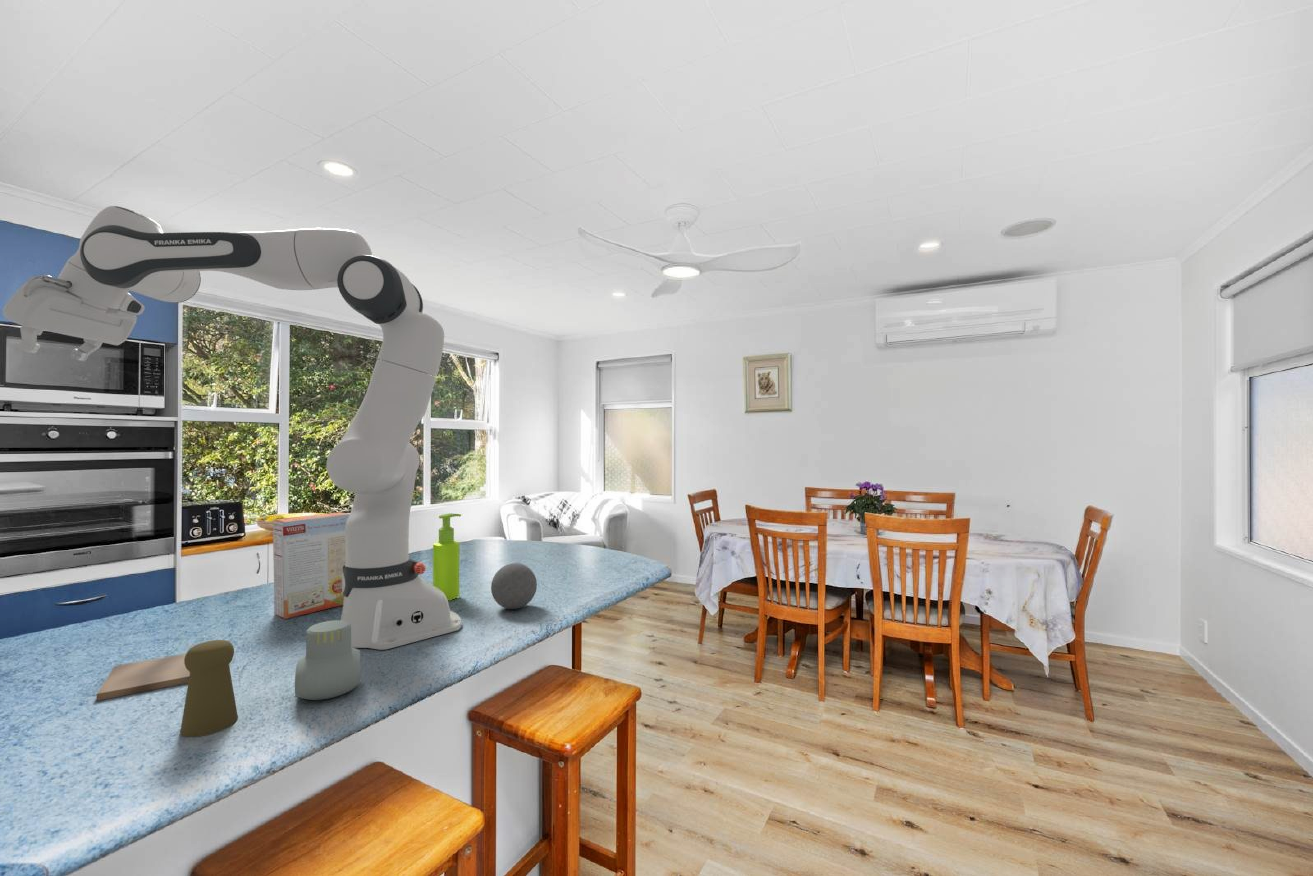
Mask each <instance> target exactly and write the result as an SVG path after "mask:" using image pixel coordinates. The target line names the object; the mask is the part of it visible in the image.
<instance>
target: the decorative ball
mask: <svg viewBox="0 0 1313 876" xmlns="http://www.w3.org/2000/svg"><path fill="white" fill-rule="evenodd" d="M537 582H538V581H537V577H536V575H535V573H534V572H533V571H532V569H531V568H530V567H528V566H526V565H525V564H522V563H516V562H515V563H509V564H506V565H504V566H502V567H501V568H500V569H498V570H497V572H496V573H495V574H494V576H493V578H492V579H491V587H490V591H491V595H492V598H493V599H494V601H495V602H496V603H497V604H498V605H499V606H501V607H502V608H504V609H507V610H518V609H521V608H524V607H525V606H526V605H528V604H529V603H530V602H531V601H532V599H534V596H535V595H536V593H537V587H538V586H537V585H538V583H537Z"/></svg>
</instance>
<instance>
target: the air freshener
mask: <svg viewBox="0 0 1313 876" xmlns="http://www.w3.org/2000/svg"><path fill="white" fill-rule="evenodd" d="M305 634H306V635H305V637H306V638H305V642H306V643H305V645H306V647H305V655H304V656H302V657H300V658H299V659H298V660H296V665H295V673H294V676H295V677H294V695H295V696H296V697H298V698H301V699H304V700H308V701H309V700H310V701H321V700H329V699H333V698H337V697H339V696H343V695H345V694H346V693H348V692H350V691H352V690H353V689H355V688H356V687H357V686H359V685H360V684H361V681H362V680H361V675H362V674H361V650H360V649H358V648H354V647H351V624H350V623H349V622H348V621H344V620H341V619H339V620H337V619H335V620H327V621H323V622H318V623H315V624H313V625H311V626H309V628H308V629H306V633H305Z"/></svg>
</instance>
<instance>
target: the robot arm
mask: <svg viewBox="0 0 1313 876" xmlns="http://www.w3.org/2000/svg"><path fill="white" fill-rule="evenodd" d="M204 271H205V272H208V271H209V272H210V271H211V272H222V273H228V274H232V275H236V276H240V277H243V278H245V279H246V278H247V279H249V280H252V281H254V282H258V283H261V284H263V285H266V286H269V287H271V288H275V289H279V290H289V291H312V290H322V289H329V288H333V289H334V288H337V289H338V291H339V293H340V295H341V297H342V298H343V299H344V301H345V302H346V304H347V305H348V306H350V307H351V309H352V310H354V311H356V312H357V313H358V314H360V315H362V316H363V317H365V318H366V319H367V320H369V321H371V322H372V323H374V324H376V325H379V327H380V328H381V330H382V343H381V345H380V349H379V353H378V354H377V355H378V356H377V359H376V362H375V364H374V368H373V371H372V374H371V378H370V381H369V383H368V386H367V390H366V392H365V395H364V397H363V400H362V402H361V403H360V406H359V408H358V410H357V411H356V413H355V415H354V416H353V418H352V420H351V422H350V424H349V426H348V427H347V429H346V431H345V433H344V435H343V436H342V438H341V439H340V441H339V442H338V443H337V444H336V445H335V446H334V447H333V448H332V449H331V451H330V452H329V454H328V456H327V458H326V459H327V460H326V466H325V467H326V472H327V476H328V477H329V479H330V481H331V482H332V483H333V484H334V485H335V486H336V487H338V489H341V490H343V491H345V492H349V493H352V494H354V499H353V504H352V508H351V511H350V512H349V514H350V515H349V517H348V519H347V521H346V525H345V564H344V565H343V572H342V592H343V595H344V601H343V605H342V609H341V610H342V611H341V616H340V620H344V621H348V622H349V623H350V624H351V647H352V648H356V649H358V648H360V649H361V648H362V649H367V648H368V649H373V650H379V651H380V650H381V651H382V650H389V649H392V648H398V647H402V646H405V645H408V644H412V643H416V642H420V641H423V640H427V639H431V638H433V637H438V636H442V635H445V634H448V633H454V632H456V631H457V632H458V631H459V630H460V629H461V628H462V626H463V624H462V619H461V617H460V615H459V614H458V613H456V612H454V611H453V610H451V609H450V604H449V601H448V600H447V598H446V596H445V594H444V593H443V592H442V591H441V590H439V589H438V588H436V587H435V586H433V583H430V582H428V581H427V580H425V579H423V578H422V577H420V575H423V574H424V573H425V572H426V571H427V570H426V569H427V567H426V565H425V564H424V563H422V562H419V561H416V560H415V559H412V558H409V554H410V553H409V550H410V544H409V537H410V535H409V534H410V533H409V529H410V517H411V515H410V513H411V509H412V503H413V497H414V490H415V484H416V476H417V472H418V469H419V466H420V454H419V452H418V450H417V448H416V447H415V446H414V445H413V444H412V443H411V442H410V441H411V438H412V436H413V434H414V432H415V431H416V428H417V427H418V425H419V423H420V422H421V420H422V419H423V418H424V416H425V415H426V412H427V409H428V405H429V403H430V399H431V397H432V394H433V390H434V387H435V383H436V381H437V377H438V373H439V371H440V367H441V363H442V356H443V351H444V345H445V344H444V342H445V330H444V329H443V326H442V325H441V324H440V322H439V321H437V320H436V319H435V318H434V317H432V316H430V315H428V314H427V313H423V311H424V301H423V298H422V295H421V294H420V293H421V292H420V291H419V290H418V288H417V287H416V286H415V285H414V284H413V283H412V282H411V281H410V279H409V278H408V276H406V275H405V274H404V273H403V272H402V271H401V270H400V269H398V268H396V267H395V266H394V265H392V264H391V263H390V262H389V261H387V260H385V259H383V258H381V257H378V256H374V255H373V252H372V250H371V246H370V245H369V244H368V242H367V240H366V239H365V238H364V237H363V236H362V235H361V234H359V233H358V232H357V231H354V230H349V229H342V228H329V227H328V228H325V227H323V228H321V227H315V228H313V227H312V228H311V227H309V228H296V229H285V230H271V231H239V232H237V231H236V232H235V231H234V232H233V231H232V232H227V231H225V232H224V231H200V232H199V231H196V232H195V231H194V232H193V231H192V232H191V231H190V232H164V231H163V228H162V226H161V225H160V224H159V223H158V222H157V221H155V219H152V218H150V217H148V216H146V215H144V214H142V213H138V212H136V211H134V210H131V209H129V208H126V207H122V206H117V205H115V206H114V205H110V206H109V205H108V206H106V207H105V208H103V209H102V210H101V211H100V212H99V213H98V214H97V215H96V216H95V217H94V218H93V220H92V221H91V222H90V223H89V225H88V226H87V228H86V230H85V231H84V232H83V234H82V235H81V237H80V240H79V245H78V249H77V250H76V252H75V253H74V254H73V255H71V256H70V257H69V258H68V259H67V261H66V263H65V264H64V266H63V267H62V269H61V271H60V273H59V275H58V276H57V278H56V277H53V276H52V275H49V274H40V275H36V276H34V277H33V276H32V277H30V278H28V280H27V281H26V282H24V283H23V284H22V285H21V286H20V287H19V288H18V289H17V290H16V291H15V293H14V294H13V295H12V296H11V297H10V299H9V300H8V301H7V303H6V304H5V306H4V307H3V309H2V314H3V317H4V318H5V319H6V320H9V321H10V322H13V323H15V324H17V325H20V328H19V329H20V337H21V341H20V343H19V344H18V346H17V347H18V349H19V350H21V351H22V352H25V353H31V354H35V353H38V351H39V349H40V347H42V346H41V344H39V343H37V340H38V336H41V335H42V333H43V332H44V331H46V332H48V333H49V332H51V333H55V334H60V335H65V336H69V337H73V338H74V337H75V338H79V339H83V344H81V345H80V346H79V347H77V348H72V351H71V352H70V354H69V358H71V359H73V360H76V361H79V362H86V360H87V359H88V357H89V356H90V355H91V354H92V353H94V352H95V351H97V350H99V349H100V348H101V347H102V345H103V343H104V344H109V345H113V346H120V345H121V344H122V343H124V342H126V340H127V339H128V337H129V336H130V334H131V333H132V331H133V329H134V328H135V326H136V323H137V320H138V317H137V316H140V315H143V313H144V311H145V308H146V307H145V305H143V303H141V302H140V301H139V300H137V298H135V297H134V296H133V295H132V294H131V293H136V294H139V295H142V296H145V297H149V298H150V299H151V298H152V299H154V300H158V301H160V302H161V301H162V302H165V303H173V304H178V303H179V304H181V303H184V302H186V301H188V300H190V299H191V298H194V297H195V295H196V293H198V292H199V289H200V287H201V280H202V279H201V273H200V272H204ZM130 292H131V293H130Z"/></svg>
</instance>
